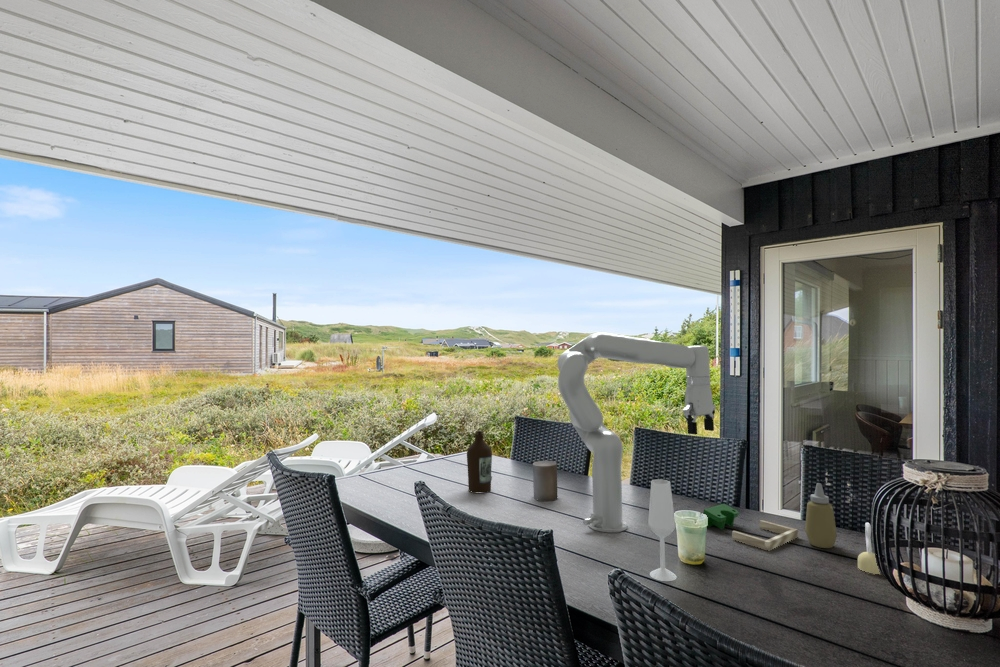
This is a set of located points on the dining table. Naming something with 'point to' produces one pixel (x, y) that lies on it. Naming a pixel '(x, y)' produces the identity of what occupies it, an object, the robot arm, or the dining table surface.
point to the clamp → (720, 515)
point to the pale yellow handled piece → (868, 555)
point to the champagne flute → (661, 522)
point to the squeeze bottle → (820, 520)
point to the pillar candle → (545, 480)
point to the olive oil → (479, 464)
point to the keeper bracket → (784, 537)
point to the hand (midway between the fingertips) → (701, 432)
